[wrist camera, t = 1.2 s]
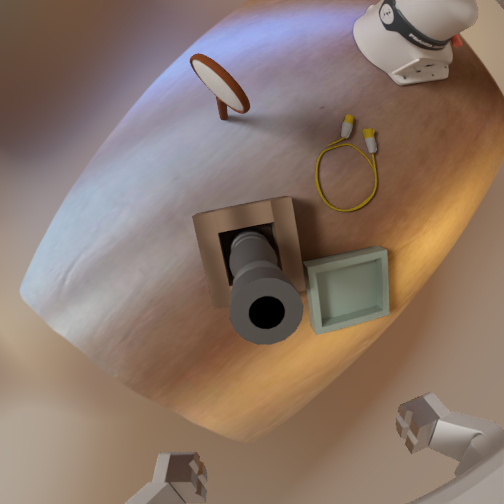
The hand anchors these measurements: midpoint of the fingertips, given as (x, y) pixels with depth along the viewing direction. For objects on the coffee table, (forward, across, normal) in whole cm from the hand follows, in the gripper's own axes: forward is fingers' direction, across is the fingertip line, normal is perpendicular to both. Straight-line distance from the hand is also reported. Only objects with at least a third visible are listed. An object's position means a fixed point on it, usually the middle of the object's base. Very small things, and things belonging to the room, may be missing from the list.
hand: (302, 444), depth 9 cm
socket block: (+38, 0, 0) cm, 38 cm away
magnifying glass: (+38, 0, -21) cm, 44 cm away
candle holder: (+38, 0, 0) cm, 38 cm away
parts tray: (+38, -15, +10) cm, 42 cm away
